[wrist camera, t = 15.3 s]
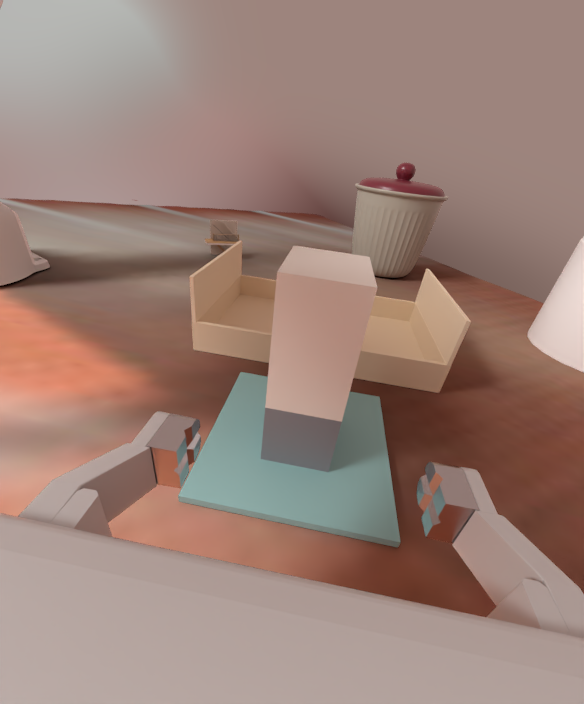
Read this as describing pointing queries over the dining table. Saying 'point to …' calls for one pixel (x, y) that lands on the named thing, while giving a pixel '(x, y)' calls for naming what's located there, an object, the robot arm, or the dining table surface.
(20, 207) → the dining table surface
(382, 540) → the mat
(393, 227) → the canister
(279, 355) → the box
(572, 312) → the canister
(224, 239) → the architectural model
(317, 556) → the dining table surface
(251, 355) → the beige open box
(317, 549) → the dining table surface
